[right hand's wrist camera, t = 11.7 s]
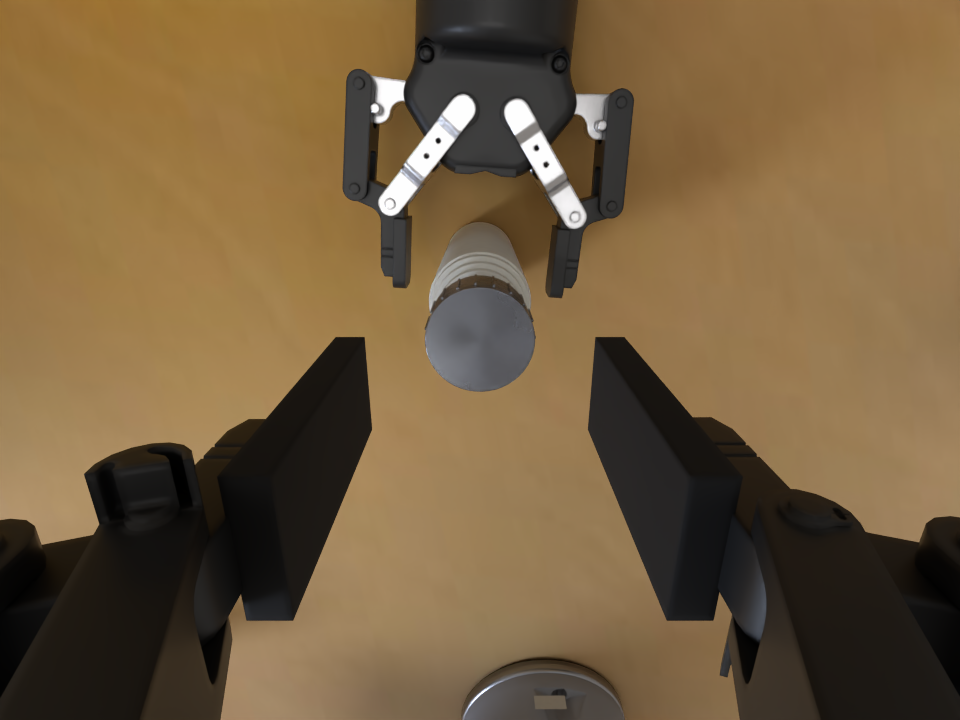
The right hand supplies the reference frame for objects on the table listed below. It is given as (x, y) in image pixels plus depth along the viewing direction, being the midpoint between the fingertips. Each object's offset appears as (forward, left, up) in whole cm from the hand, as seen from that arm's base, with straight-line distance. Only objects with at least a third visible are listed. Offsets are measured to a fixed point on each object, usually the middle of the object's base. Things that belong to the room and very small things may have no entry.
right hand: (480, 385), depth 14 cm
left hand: (-1, +1, -16) cm, 16 cm away
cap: (0, 0, -4) cm, 4 cm away
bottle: (0, 0, -22) cm, 22 cm away
